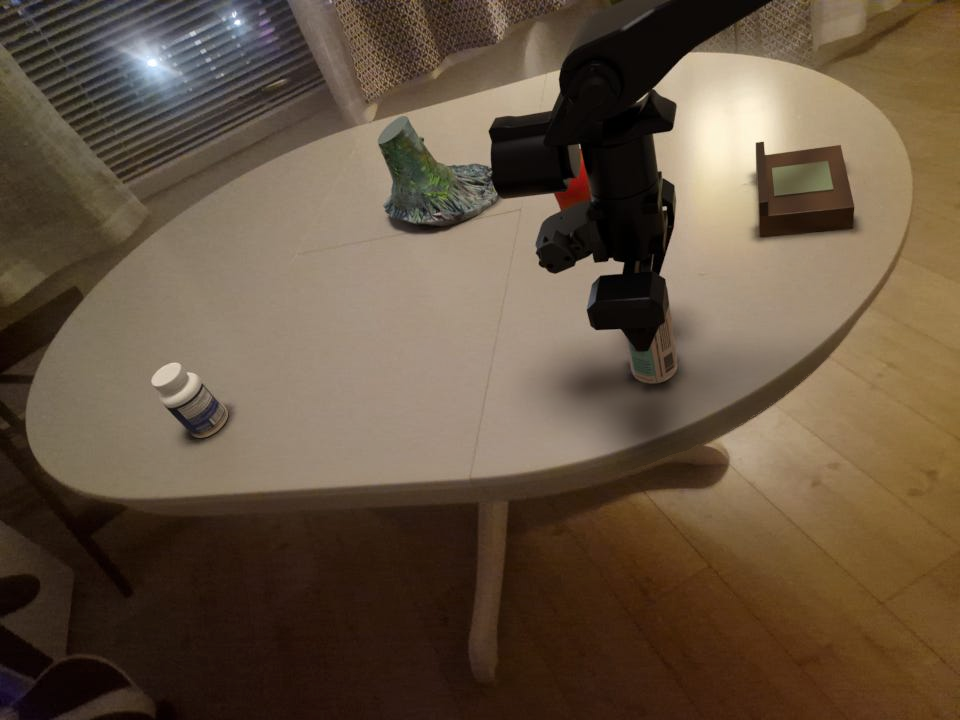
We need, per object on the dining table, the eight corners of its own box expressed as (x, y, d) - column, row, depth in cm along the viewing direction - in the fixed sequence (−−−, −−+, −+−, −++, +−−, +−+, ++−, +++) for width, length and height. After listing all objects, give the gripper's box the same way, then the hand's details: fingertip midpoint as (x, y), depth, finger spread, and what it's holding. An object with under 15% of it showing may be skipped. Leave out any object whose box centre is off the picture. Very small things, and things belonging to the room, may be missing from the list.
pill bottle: (189, 423, 88) (143, 374, 81) (224, 401, 89) (182, 351, 82) (195, 446, 84) (148, 397, 77) (233, 423, 85) (189, 372, 78)
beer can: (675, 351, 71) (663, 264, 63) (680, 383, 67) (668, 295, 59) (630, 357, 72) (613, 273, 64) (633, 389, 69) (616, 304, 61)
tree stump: (519, 206, 102) (459, 115, 90) (415, 271, 107) (346, 192, 95) (496, 154, 115) (441, 68, 103) (405, 213, 120) (342, 138, 108)
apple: (618, 236, 88) (604, 159, 80) (558, 245, 91) (538, 170, 83) (621, 201, 94) (608, 126, 86) (564, 210, 97) (546, 138, 89)
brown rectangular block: (839, 165, 85) (841, 130, 82) (852, 228, 76) (856, 191, 72) (756, 175, 89) (755, 142, 85) (759, 237, 80) (759, 202, 76)
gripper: (550, 139, 63) (580, 265, 74) (508, 258, 51) (552, 388, 62) (667, 120, 59) (683, 256, 69) (652, 244, 47) (673, 387, 57)
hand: (646, 317), depth 64 cm, fingers open, 9 cm apart
